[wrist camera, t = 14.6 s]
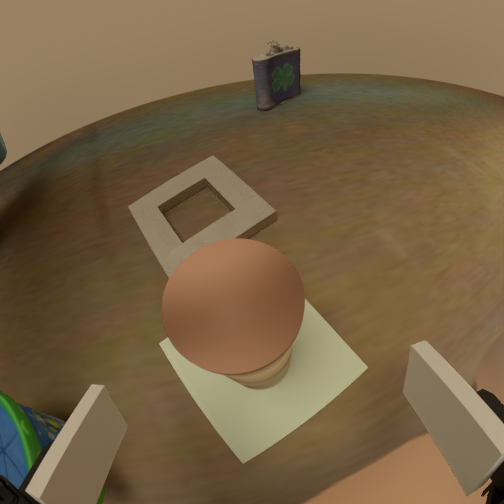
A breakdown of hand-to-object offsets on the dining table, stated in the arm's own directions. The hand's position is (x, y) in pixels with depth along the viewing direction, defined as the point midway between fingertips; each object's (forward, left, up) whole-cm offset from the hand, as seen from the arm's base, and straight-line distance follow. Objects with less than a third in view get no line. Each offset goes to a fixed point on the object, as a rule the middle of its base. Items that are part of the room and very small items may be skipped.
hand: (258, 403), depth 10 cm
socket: (-20, +6, -12) cm, 25 cm away
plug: (-3, +2, -12) cm, 12 cm away
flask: (-34, +30, -13) cm, 47 cm away
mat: (-3, +2, -12) cm, 13 cm away
